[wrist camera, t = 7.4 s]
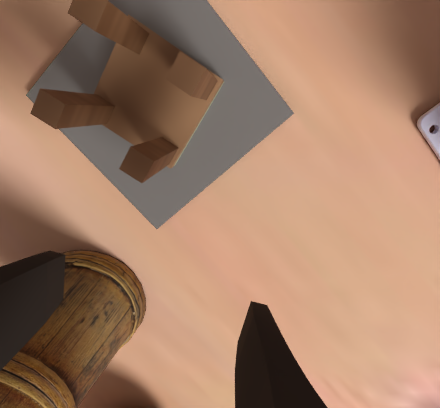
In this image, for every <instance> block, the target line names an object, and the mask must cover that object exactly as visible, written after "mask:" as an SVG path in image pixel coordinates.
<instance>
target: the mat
mask: <svg viewBox="0 0 440 408" xmlns="http://www.w3.org/2000/svg"><path fill="white" fill-rule="evenodd" d="M108 1H109V2H110V3H112V4H113V5H114V6H115V7H117V8H118V9H119V10H120V11H122V12H123V13H124V14H125V15H127V16H128V14H129V15H130V16H132V17H133V18H135V19H136V20H138V21H139V22H140V23H142V24H143V25H145V26H146V27H148V28H149V29H150V30H152V31H153V32H155V33H156V34H158V35H159V36H161V37H162V38H163V39H165V40H166V41H168V42H169V43H171V44H172V45H174V46H175V47H176V48H178V49H179V50H181V51H182V52H184V53H185V54H187V55H188V56H189V57H191V58H192V59H194V60H195V61H197V62H198V63H199V64H201V65H202V66H204V67H205V68H207V69H208V70H210V71H211V72H212V73H214V74H215V75H217V76H218V77H220V78H221V79H223V81H224V83H223V85H222V87H221V89H220V90H219V92H218V94H217V95H216V97H215V99H214V100H213V102H212V104H211V105H210V107H209V109H208V111H207V112H206V114H205V116H204V117H203V119H202V121H201V122H200V124H199V126H198V127H197V129H196V131H195V132H194V134H193V136H192V138H191V139H190V141H189V143H188V144H187V146H186V148H185V149H184V151H183V153H182V154H181V156H180V158H179V160H178V161H177V163H176V165H175V166H173V167H172V168H171V169H170V168H168V167H167V166H166V167H165V168H163V169H162V170H160V171H159V172H158V173H156V174H155V175H153V176H152V177H150V178H149V179H147V180H146V181H145V182H143V183H140V182H139V181H137V180H136V179H134V178H132V177H131V176H129V175H128V174H126V173H124V172H123V171H121V170H120V169H119V168H120V166H121V164H122V162H123V160H124V158H125V156H126V154H127V152H128V150H129V148H130V146H134V145H133V144H131V143H129V142H128V141H126V140H125V139H123V138H122V137H120V136H119V135H117V134H115V133H114V132H112V131H111V130H109V129H108V128H106V127H105V126H103V125H92V126H82V127H71V128H61V129H60V131H61V132H62V133H63V134H64V135H65V136H66V137H67V138H68V139H69V140H70V141H71V142H72V143H73V144H74V145H75V146H76V147H77V148H78V149H79V150H80V151H81V152H82V153H83V154H84V155H85V156H86V157H87V158H88V159H89V160H90V161H91V162H92V163H93V164H94V165H95V166H96V167H97V168H98V169H99V170H100V171H101V173H102V174H103V175H104V176H105V177H106V178H107V179H108V180H109V181H110V182H111V183H112V184H113V185H114V186H115V187H116V188H117V189H118V190H119V191H120V192H121V193H122V194H123V195H124V196H125V197H126V198H127V199H128V200H129V201H130V202H131V203H132V204H133V205H134V206H135V207H136V208H137V209H138V210H139V211H140V212H141V213H142V215H143V216H144V217H145V218H146V219H147V220H148V221H149V222H150V223H151V224H152V225H153V226H154V227H155V228H156V229H158V228H159V227H160V226H161V225H162V224H164V223H165V222H166V221H167V220H168V219H170V218H171V217H172V216H173V215H174V214H175V213H177V212H178V211H179V210H180V209H181V208H183V207H184V206H185V205H186V204H187V203H189V202H190V201H191V200H192V199H193V198H194V197H196V196H197V195H198V194H199V193H200V192H202V191H203V190H204V189H205V188H206V187H207V186H209V185H210V184H211V183H212V182H213V181H215V180H216V179H217V178H218V177H219V176H220V175H222V174H223V173H224V172H225V171H226V170H228V169H229V168H230V167H231V166H232V165H233V164H235V163H236V162H237V161H238V160H239V159H241V158H242V157H243V156H244V155H245V154H247V153H248V152H249V151H250V150H251V149H252V148H254V147H255V146H256V145H257V144H258V143H260V142H261V141H262V140H263V139H264V138H265V137H267V136H268V135H269V134H270V133H271V132H273V131H274V130H275V129H276V128H277V127H278V126H280V125H281V124H282V123H283V122H284V121H286V120H287V119H288V118H289V117H290V116H291V115H293V114H294V113H293V112H292V110H291V109H290V108H289V106H288V105H287V104H286V102H285V101H284V100H283V99H282V97H281V96H280V95H279V93H278V92H277V91H276V89H275V88H274V87H273V86H272V84H271V83H270V82H269V80H268V79H267V78H266V77H265V75H264V74H263V73H262V71H261V70H260V69H259V67H258V66H257V65H256V64H255V62H254V61H253V60H252V58H251V57H250V56H249V54H248V53H247V52H246V51H245V49H244V48H243V47H242V45H241V44H240V43H239V42H238V40H237V39H236V38H235V36H234V35H233V34H232V32H231V31H230V30H229V29H228V27H227V26H226V25H225V23H224V22H223V21H222V19H221V18H220V17H219V16H218V14H217V13H216V12H215V10H214V9H213V8H212V7H211V5H210V4H209V3H208V1H207V0H108ZM115 44H116V42H114V41H112V40H110V39H109V38H107V37H105V36H103V35H101V34H99V33H97V32H95V31H94V30H92V29H91V28H89V27H88V26H86V25H85V24H82V25H81V26H80V27H79V29H78V30H77V31H76V32H75V34H74V35H73V36H72V37H71V39H70V40H69V41H68V43H67V44H66V45H65V46H64V48H63V49H62V50H61V51H60V53H59V54H58V55H57V57H56V58H55V59H54V60H53V62H52V63H51V64H50V65H49V67H48V68H47V69H46V70H45V72H44V73H43V74H42V76H41V77H40V78H39V79H38V81H37V82H36V83H35V84H34V86H33V87H32V88H31V89H30V91H29V92H28V93H27V95H26V96H27V97H28V98H29V99H30V100H31V101H32V102H33V103H35V100H36V98H37V95H38V92H39V89H40V88H41V89H50V90H59V91H69V92H78V93H87V94H94V92H95V89H96V87H97V85H98V83H99V80H100V78H101V76H102V73H103V71H104V69H105V67H106V64H107V62H108V60H109V58H110V55H111V53H112V51H113V48H114V46H115Z"/></svg>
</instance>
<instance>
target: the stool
mask: <svg viewBox="0 0 440 408" xmlns="http://www.w3.org/2000/svg"><path fill="white" fill-rule="evenodd" d="M68 13H69V14H70V15H72V16H73V17H75V18H76V19H77V20H79V21H80V22H82V23H83V24H85V25H86V26H88V27H89V28H91V29H92V30H94V31H95V32H97V33H99V34H101V35H103V36H105V37H107V38H109V39H110V40H112V41H114V42H116V44H115V46H114V48H113V51H112V53H111V55H110V58H109V60H108V62H107V64H106V67H105V69H104V71H103V73H102V76H101V78H100V80H99V83H98V85H97V87H96V89H95V92H94V94H87V93H78V92H69V91H59V90H50V89H41V88H40V89H39V92H38V95H37V98H36V100H35V103H34V106H33V108H32V111H31V114H32V115H34V116H35V117H37V118H39V119H40V120H42V121H43V122H45V123H46V124H48V125H50V126H51V127H53V128H54V129H61V128H71V127H82V126H92V125H103V126H105V127H106V128H108V129H109V130H111V131H112V132H114V133H115V134H117V135H119V136H120V137H122V138H123V139H125V140H126V141H128V142H129V143H131V144H133V145H134V146H130V148H129V150H128V152H127V154H126V156H125V158H124V160H123V162H122V164H121V166H120V168H119V169H120V170H121V171H123V172H124V173H126V174H128V175H129V176H131V177H132V178H134V179H136V180H137V181H139V182H140V183H143V182H145V181H146V180H147V179H149V178H150V177H152V176H153V175H155V174H156V173H158V172H159V171H160V170H162V169H163V168H165V167H166V166H167V167H168V168H170V169H171V168H172V167H173V166H175V165H176V163H177V161H178V160H179V158H180V156H181V154H182V153H183V151H184V149H185V148H186V146H187V144H188V143H189V141H190V139H191V138H192V136H193V134H194V132H195V131H196V129H197V127H198V126H199V124H200V122H201V121H202V119H203V117H204V116H205V114H206V112H207V111H208V109H209V107H210V105H211V104H212V102H213V100H214V99H215V97H216V95H217V94H218V92H219V90H220V89H221V87H222V85H223V83H224V81H223V79H221V78H220V77H218V76H217V75H215V74H214V73H212V72H211V71H210V70H208V69H207V68H205V67H204V66H202V65H201V64H199V63H198V62H197V61H195V60H194V59H192V58H191V57H189V56H188V55H187V54H185V53H184V52H182V51H181V50H179V49H178V48H176V47H175V46H174V45H172V44H171V43H169V42H168V41H166V40H165V39H163V38H162V37H161V36H159V35H158V34H156V33H155V32H153V31H152V30H150V29H149V28H148V27H146V26H145V25H143V24H142V23H140V22H139V21H138V20H136V19H135V18H133V17H132V16H130V15H129V14H128V16H127V15H125V14H124V13H123V12H122V11H120V10H119V9H118V8H117V7H115V6H114V5H113V4H112V3H110V2H109V1H108V0H73V1H72V3H71V6H70V9H69V11H68Z"/></svg>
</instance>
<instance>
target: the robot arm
mask: <svg viewBox="0 0 440 408" xmlns="http://www.w3.org/2000/svg"><path fill="white" fill-rule="evenodd" d="M432 125H434V127H435V129H434V131H433V132H432V133H430V132H429V129H430V127H431V126H432ZM417 126H418V129H419V130H420V132H421V133H422V135H423V136H424V138H425V139H426V140H427V142H428V143H429V145H430V146H431V148H432V149H433V151H434V152H435V154H436V155H437V157H438V158H439V160H440V103H438V104H437V105H436V106H434V107H433V108H431V109H430V110H429V111H427V112H426V113H425V114H423V115H422V116H421V117H420V118H419V119H418V121H417ZM64 276H65V254H61V253H57V252H53V251H48V252H44V253H41V254H37V255H34V256H31V257H28V258H25V259H22V260H19V261H16V262H13V263H11V264H8V265H5V266H2V267H0V371H1V370H2V369H3V368H4V367H5V366H6V364H7V363H8V362H9V361H10V360H11V359H12V358H13V357H14V356H15V355H16V354H17V353H18V352H19V351H20V350H21V349H22V348H23V347H24V346H25V344H26V343H27V342H28V341H29V340H30V339H31V338H32V337H33V336H34V335H35V334H36V333H37V332H38V331H39V330H40V328H41V327H42V326H43V325H44V324H45V323H46V322H47V320H48V319H49V318H50V316H51V315H52V314H53V313H54V311H55V310H56V308H57V307H58V306H59V304H60V303H61V301H62V300H63V296H64ZM235 408H327V406H326V405H325V404H324V402H323V401H322V399H321V398H320V397H319V395H318V394H317V393H316V391H315V390H314V388H313V387H312V385H311V384H310V382H309V381H308V379H307V378H306V376H305V374H304V373H303V371H302V370H301V368H300V366H299V365H298V363H297V361H296V360H295V358H294V356H293V354H292V353H291V351H290V349H289V347H288V345H287V344H286V342H285V340H284V338H283V336H282V334H281V332H280V330H279V328H278V326H277V324H276V322H275V320H274V318H273V316H272V314H271V312H270V310H269V308H268V306H267V305H264V304H260V303H256V302H252V301H251V303H250V306H249V309H248V312H247V315H246V318H245V322H244V325H243V328H242V331H241V334H240V337H239V340H238V345H237V354H236V365H235Z"/></svg>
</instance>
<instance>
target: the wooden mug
mask: <svg viewBox="0 0 440 408" xmlns="http://www.w3.org/2000/svg"><path fill="white" fill-rule="evenodd" d="M63 254H65V276H64V296H63V300H62V301H61V303H60V304H59V306H58V307H57V308H56V310H55V311H54V313H53V314H52V315H51V316H50V318H49V319H48V320H47V322H46V323H45V324H44V325H43V326H42V327H41V328H40V330H39V331H38V332H37V333H36V334H35V335H34V336H33V337H32V338H31V339H30V340H29V341H28V342H27V343H26V344H25V346H24V347H23V348H22V349H21V350H20V351H19V352H18V353H17V354H16V355H15V356H14V357H13V358H12V359H11V360H10V361H9V362H8V363H7V364H6V366H5V367H4V368H3V369H2V370H1V371H0V408H77V407H78V406H79V404H80V403H81V401H82V400H83V399H84V397H85V396H86V394H87V393H88V392H89V390H90V389H91V387H92V386H93V385H94V383H95V382H96V380H97V379H98V378H99V376H100V375H101V373H102V372H103V371H104V369H105V368H106V366H107V365H108V364H109V362H110V361H111V359H112V358H113V357H114V355H115V354H116V353H117V351H118V350H119V349H120V348H121V347H122V346H123V345H125V344H126V343H127V342H128V341H129V340H130V338H131V337H132V335H133V334H134V333H135V331H136V330H137V328H138V327H139V325H140V324H141V323H142V321H143V318H144V315H145V311H146V298H145V295H144V292H143V288H142V285H141V284H140V282H139V281H138V279H137V278H136V276H135V275H134V273H133V272H132V271H131V270H130V269H129V268H128V267H127V266H126V265H125V264H124V263H122V262H120V261H118V260H117V259H115V258H113V257H111V256H108V255H105V254H102V253H98V252H94V251H68V252H65V253H63Z"/></svg>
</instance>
